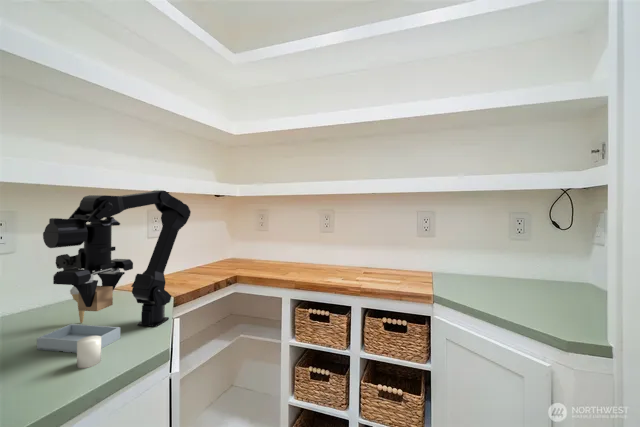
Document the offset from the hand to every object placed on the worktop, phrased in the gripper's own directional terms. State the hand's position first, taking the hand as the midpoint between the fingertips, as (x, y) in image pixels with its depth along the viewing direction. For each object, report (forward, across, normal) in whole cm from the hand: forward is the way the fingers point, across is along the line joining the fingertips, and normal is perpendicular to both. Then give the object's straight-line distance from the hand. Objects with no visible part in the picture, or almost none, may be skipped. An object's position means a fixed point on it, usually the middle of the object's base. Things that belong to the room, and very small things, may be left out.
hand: (97, 303), depth 76 cm
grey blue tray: (+11, 0, -5) cm, 12 cm away
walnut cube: (+1, 0, 0) cm, 1 cm away
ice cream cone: (+11, -13, -16) cm, 24 cm away
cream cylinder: (+11, +8, +5) cm, 15 cm away
